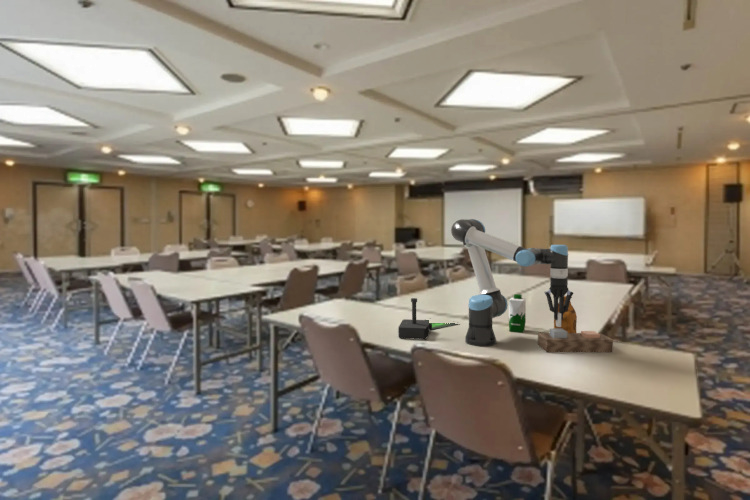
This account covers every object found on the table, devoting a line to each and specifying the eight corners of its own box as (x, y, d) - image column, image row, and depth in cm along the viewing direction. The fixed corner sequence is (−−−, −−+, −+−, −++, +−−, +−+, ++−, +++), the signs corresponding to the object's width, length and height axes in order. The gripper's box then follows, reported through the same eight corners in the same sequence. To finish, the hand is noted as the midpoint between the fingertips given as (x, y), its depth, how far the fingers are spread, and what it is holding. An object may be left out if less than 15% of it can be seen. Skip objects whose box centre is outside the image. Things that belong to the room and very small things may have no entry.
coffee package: (579, 336, 221) (580, 295, 219) (570, 341, 212) (570, 298, 211) (560, 333, 228) (561, 293, 227) (550, 337, 219) (551, 296, 218)
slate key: (554, 342, 197) (554, 331, 197) (549, 338, 203) (549, 328, 203) (567, 342, 197) (567, 331, 197) (561, 338, 203) (562, 328, 203)
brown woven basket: (546, 352, 195) (546, 339, 195) (537, 344, 207) (537, 333, 206) (612, 352, 194) (612, 339, 193) (599, 345, 206) (600, 332, 205)
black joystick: (429, 340, 218) (429, 302, 217) (398, 339, 222) (397, 301, 221) (432, 331, 237) (432, 296, 236) (403, 330, 240) (402, 295, 239)
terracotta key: (586, 344, 197) (586, 334, 197) (580, 341, 203) (581, 331, 203) (599, 344, 197) (599, 334, 196) (593, 341, 203) (593, 331, 202)
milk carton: (526, 329, 237) (526, 294, 236) (523, 333, 229) (524, 297, 228) (510, 328, 241) (510, 293, 240) (507, 331, 233) (507, 296, 232)
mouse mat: (437, 318, 271) (437, 316, 271) (462, 324, 253) (462, 322, 253) (404, 324, 255) (404, 322, 255) (429, 331, 237) (429, 329, 237)
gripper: (547, 278, 195) (547, 328, 196) (576, 278, 194) (575, 328, 196) (542, 276, 203) (541, 324, 204) (569, 276, 202) (569, 324, 203)
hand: (558, 326), depth 200 cm, fingers closed
